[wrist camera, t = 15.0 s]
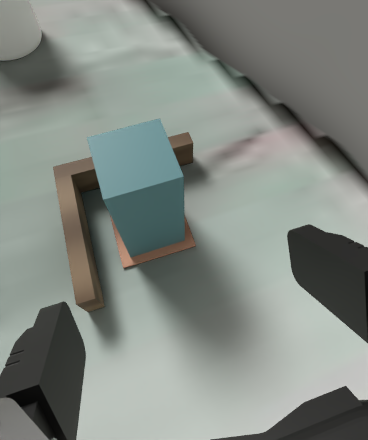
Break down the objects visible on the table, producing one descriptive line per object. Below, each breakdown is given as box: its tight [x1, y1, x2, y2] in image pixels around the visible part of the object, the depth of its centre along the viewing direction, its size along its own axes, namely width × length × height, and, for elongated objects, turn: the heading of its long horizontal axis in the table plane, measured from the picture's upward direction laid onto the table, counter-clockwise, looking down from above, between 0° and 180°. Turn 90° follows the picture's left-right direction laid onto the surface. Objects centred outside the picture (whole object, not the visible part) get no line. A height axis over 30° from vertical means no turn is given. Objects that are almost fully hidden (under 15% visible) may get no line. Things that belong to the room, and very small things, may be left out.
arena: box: [53, 132, 196, 312], centre depth 28 cm, size 13×13×3 cm
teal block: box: [87, 119, 185, 258], centre depth 24 cm, size 5×5×10 cm
